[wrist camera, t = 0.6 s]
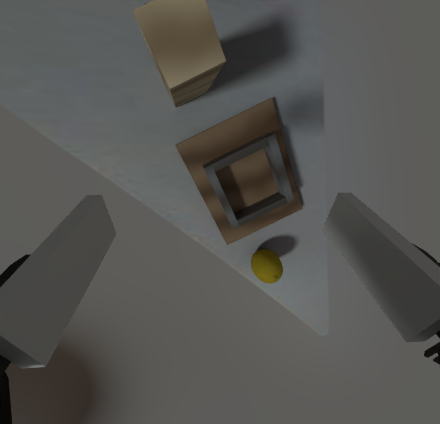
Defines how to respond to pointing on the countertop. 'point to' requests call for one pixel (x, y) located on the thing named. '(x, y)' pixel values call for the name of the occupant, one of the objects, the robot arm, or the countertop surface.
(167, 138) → the countertop surface
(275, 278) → the lemon
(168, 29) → the maple post
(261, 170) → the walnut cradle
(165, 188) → the countertop surface
